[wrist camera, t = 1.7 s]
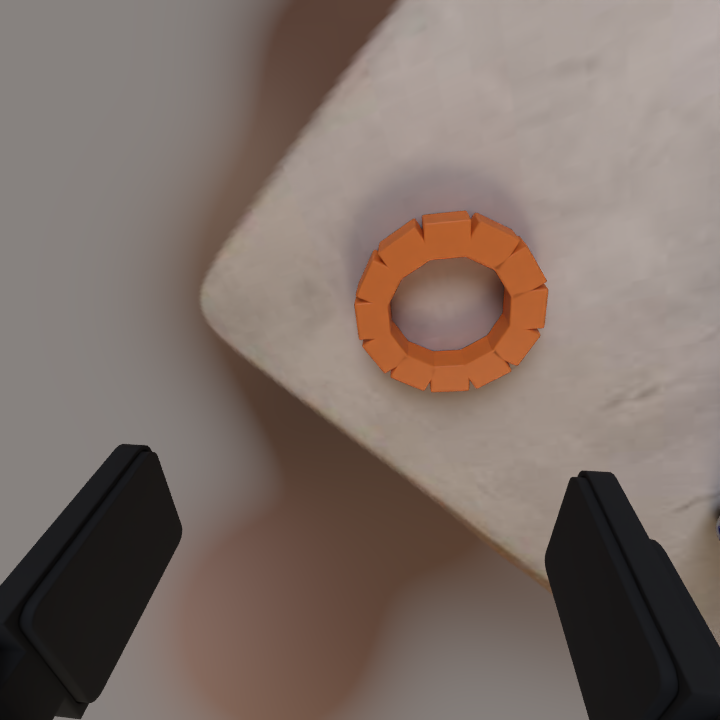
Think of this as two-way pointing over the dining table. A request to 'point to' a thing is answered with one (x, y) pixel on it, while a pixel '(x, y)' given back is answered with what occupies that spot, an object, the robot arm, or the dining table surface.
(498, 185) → the dining table surface
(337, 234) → the dining table surface
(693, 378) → the dining table surface
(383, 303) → the ring
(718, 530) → the beverage can
